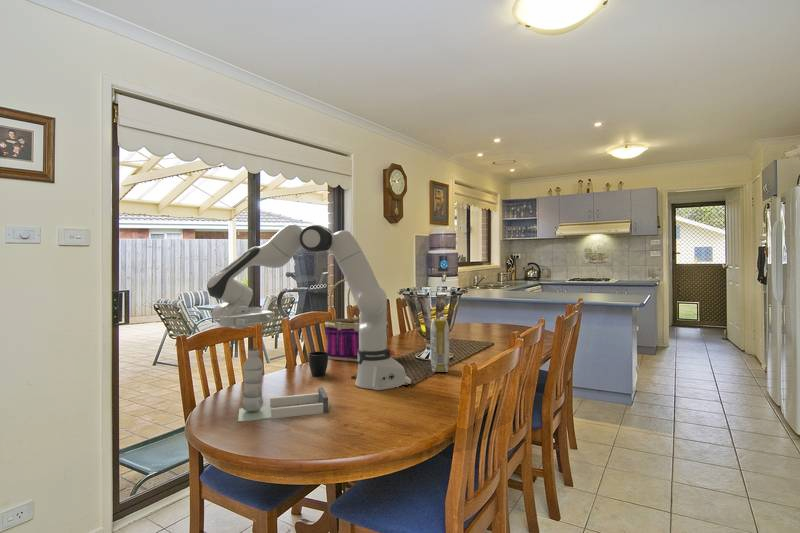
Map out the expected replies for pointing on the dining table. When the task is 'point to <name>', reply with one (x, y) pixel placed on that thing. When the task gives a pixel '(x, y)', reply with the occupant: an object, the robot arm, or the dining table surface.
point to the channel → (299, 410)
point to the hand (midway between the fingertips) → (257, 320)
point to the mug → (318, 363)
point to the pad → (254, 414)
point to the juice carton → (440, 345)
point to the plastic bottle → (252, 381)
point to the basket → (343, 335)
